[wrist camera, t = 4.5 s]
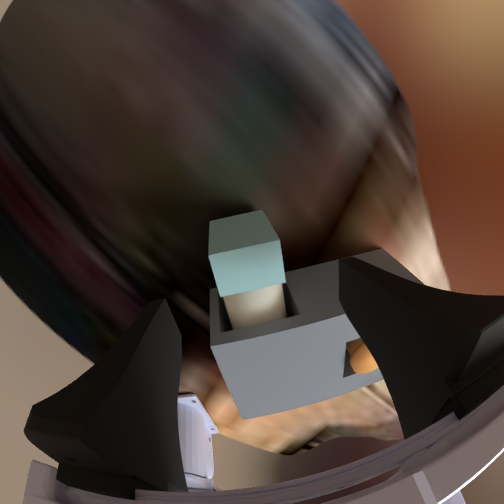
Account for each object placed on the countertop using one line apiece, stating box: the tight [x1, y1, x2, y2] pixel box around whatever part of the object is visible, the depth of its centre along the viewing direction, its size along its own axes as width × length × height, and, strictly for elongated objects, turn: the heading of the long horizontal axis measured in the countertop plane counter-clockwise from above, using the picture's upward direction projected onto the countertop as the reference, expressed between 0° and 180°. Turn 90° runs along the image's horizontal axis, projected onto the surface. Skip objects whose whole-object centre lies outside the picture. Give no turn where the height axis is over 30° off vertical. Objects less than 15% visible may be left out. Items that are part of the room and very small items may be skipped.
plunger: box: [346, 338, 379, 374], centre depth 18 cm, size 3×3×4 cm
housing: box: [210, 248, 424, 420], centre depth 19 cm, size 9×14×6 cm, turn 100°
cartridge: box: [208, 210, 287, 330], centre depth 18 cm, size 12×4×5 cm, turn 10°
